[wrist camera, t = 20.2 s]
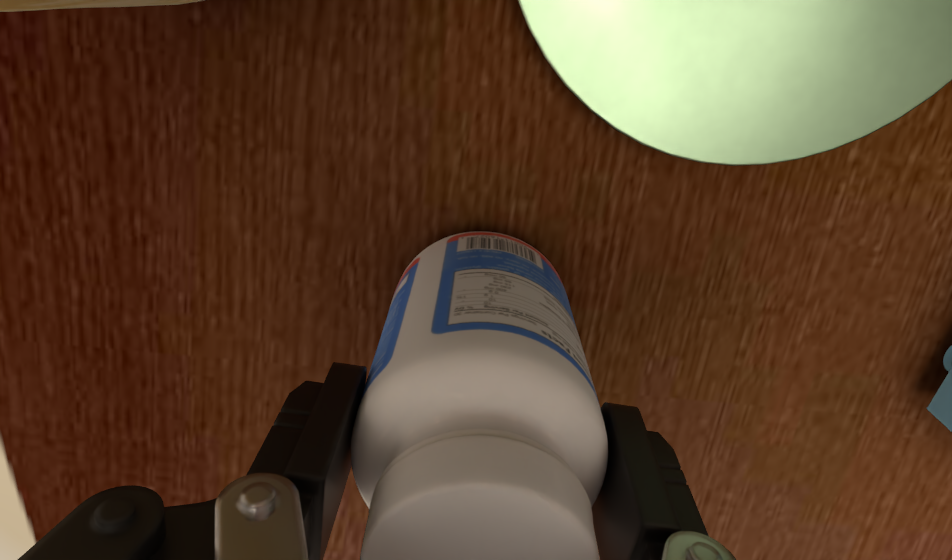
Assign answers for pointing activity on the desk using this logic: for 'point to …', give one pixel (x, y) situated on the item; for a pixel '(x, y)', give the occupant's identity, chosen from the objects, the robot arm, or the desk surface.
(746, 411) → the desk surface
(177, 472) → the desk surface
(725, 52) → the lid
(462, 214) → the desk surface
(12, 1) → the food model
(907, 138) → the desk surface
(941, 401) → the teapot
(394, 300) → the pill bottle
